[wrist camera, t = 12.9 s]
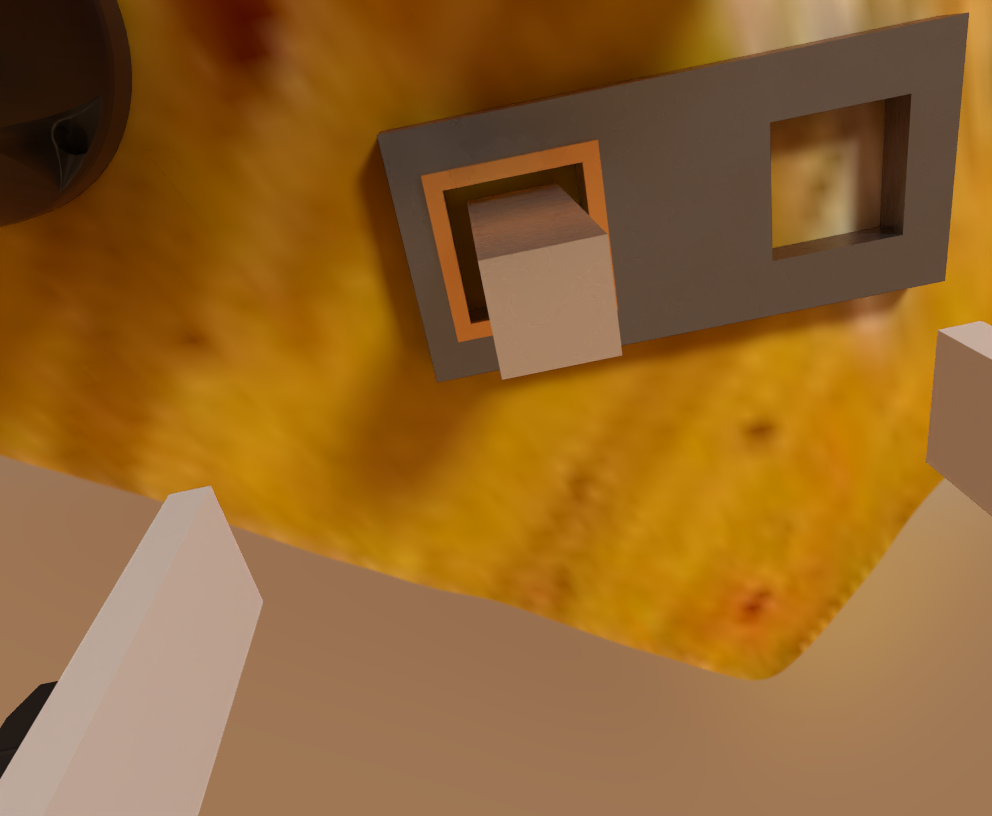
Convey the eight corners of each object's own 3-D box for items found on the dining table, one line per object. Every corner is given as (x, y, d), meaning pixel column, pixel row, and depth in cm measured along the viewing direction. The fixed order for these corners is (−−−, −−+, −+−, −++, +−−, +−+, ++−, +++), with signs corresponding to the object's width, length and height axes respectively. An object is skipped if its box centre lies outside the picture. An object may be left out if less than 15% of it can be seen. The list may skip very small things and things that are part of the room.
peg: (484, 287, 37) (502, 379, 26) (466, 200, 35) (477, 260, 24) (569, 270, 37) (622, 355, 26) (555, 182, 35) (607, 234, 24)
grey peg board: (437, 367, 38) (437, 384, 36) (380, 131, 33) (376, 135, 31) (920, 270, 38) (948, 282, 36) (939, 15, 33) (973, 12, 31)
